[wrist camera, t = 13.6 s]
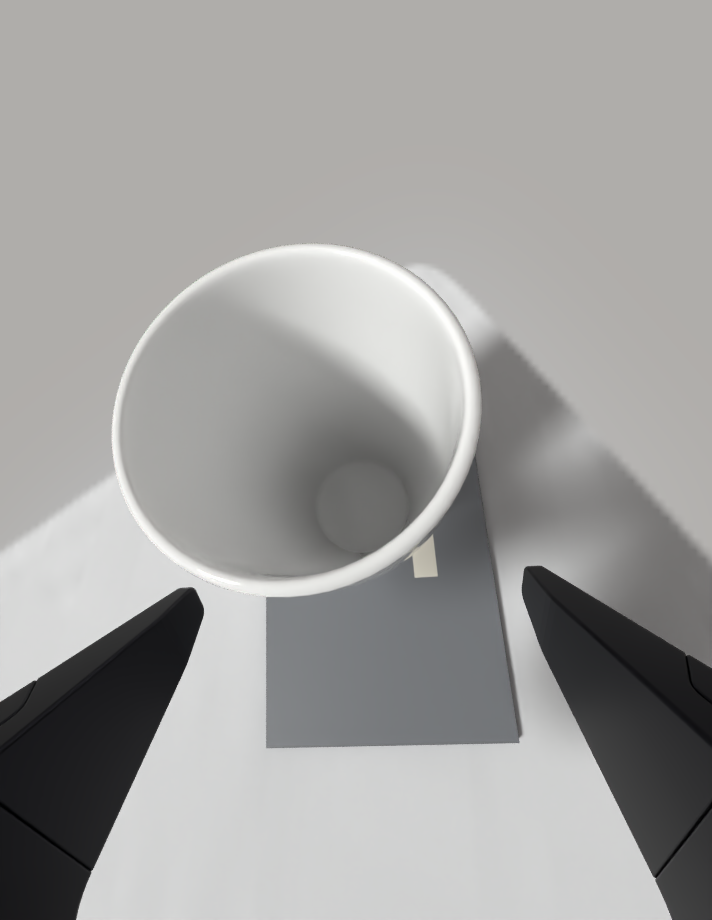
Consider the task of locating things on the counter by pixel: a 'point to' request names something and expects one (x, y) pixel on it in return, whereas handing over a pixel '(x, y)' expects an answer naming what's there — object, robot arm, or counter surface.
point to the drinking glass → (297, 421)
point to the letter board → (396, 650)
